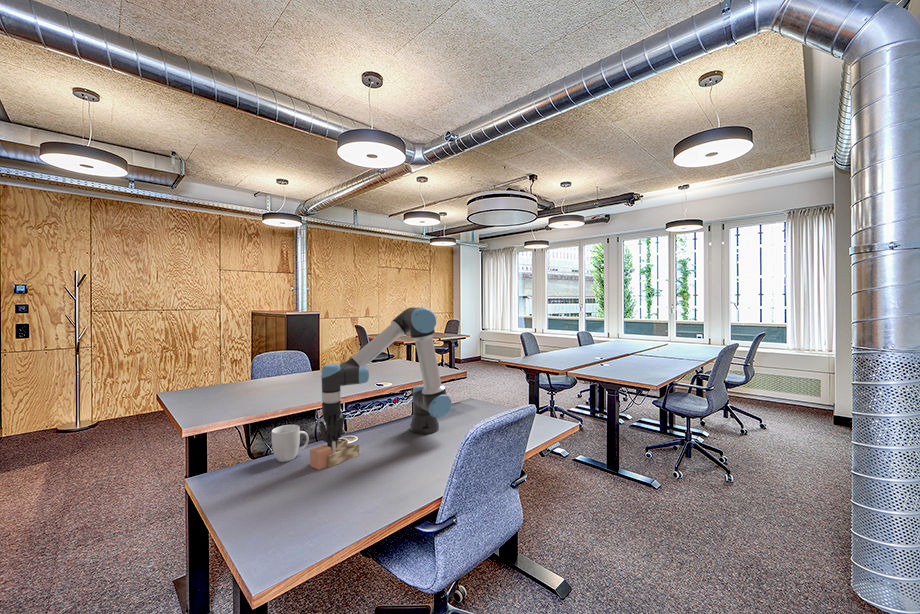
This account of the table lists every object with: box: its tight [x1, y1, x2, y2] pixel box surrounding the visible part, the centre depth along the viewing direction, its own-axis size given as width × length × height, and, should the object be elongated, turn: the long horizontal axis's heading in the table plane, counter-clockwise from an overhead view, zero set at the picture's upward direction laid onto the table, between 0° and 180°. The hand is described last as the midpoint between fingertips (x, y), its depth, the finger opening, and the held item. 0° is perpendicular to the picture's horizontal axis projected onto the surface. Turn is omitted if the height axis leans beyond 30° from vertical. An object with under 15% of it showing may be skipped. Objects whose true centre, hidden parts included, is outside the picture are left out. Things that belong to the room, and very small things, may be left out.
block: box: [309, 444, 332, 471], centre depth 154 cm, size 6×6×7 cm
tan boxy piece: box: [327, 438, 360, 468], centre depth 161 cm, size 15×10×6 cm
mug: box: [271, 424, 310, 463], centre depth 162 cm, size 15×11×13 cm
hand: (332, 456), depth 158 cm, fingers closed
